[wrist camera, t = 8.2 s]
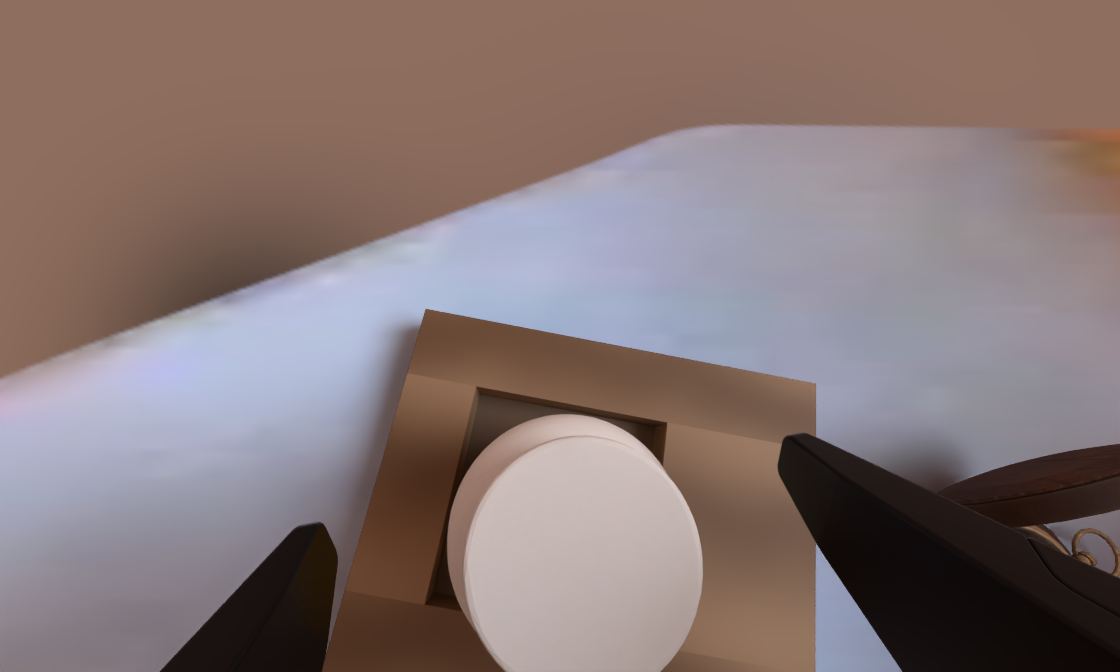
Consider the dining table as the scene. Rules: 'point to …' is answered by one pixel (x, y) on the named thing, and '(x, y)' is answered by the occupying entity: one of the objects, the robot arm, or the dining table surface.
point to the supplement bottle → (574, 550)
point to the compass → (1048, 495)
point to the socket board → (629, 403)
